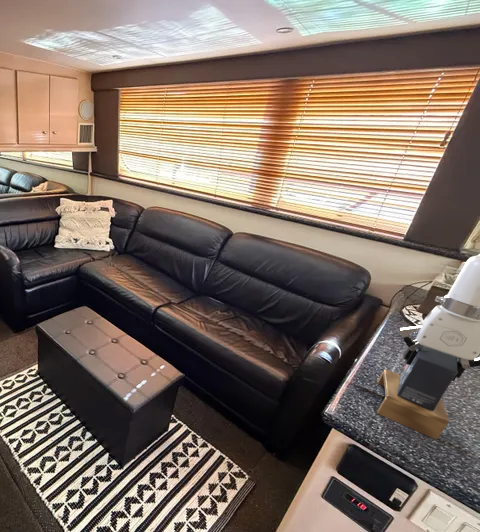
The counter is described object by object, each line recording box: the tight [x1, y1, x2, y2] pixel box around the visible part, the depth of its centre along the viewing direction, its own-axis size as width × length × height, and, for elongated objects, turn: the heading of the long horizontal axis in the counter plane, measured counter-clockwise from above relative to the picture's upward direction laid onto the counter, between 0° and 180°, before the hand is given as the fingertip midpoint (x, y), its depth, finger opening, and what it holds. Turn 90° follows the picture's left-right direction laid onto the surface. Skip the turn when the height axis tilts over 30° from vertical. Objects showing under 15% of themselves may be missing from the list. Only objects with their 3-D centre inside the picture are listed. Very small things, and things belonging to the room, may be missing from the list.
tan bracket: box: [377, 368, 450, 440], centre depth 84 cm, size 11×15×6 cm
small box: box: [397, 346, 458, 411], centre depth 81 cm, size 13×7×12 cm, turn 133°
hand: (428, 369), depth 80 cm, fingers closed on small box, 7 cm apart
